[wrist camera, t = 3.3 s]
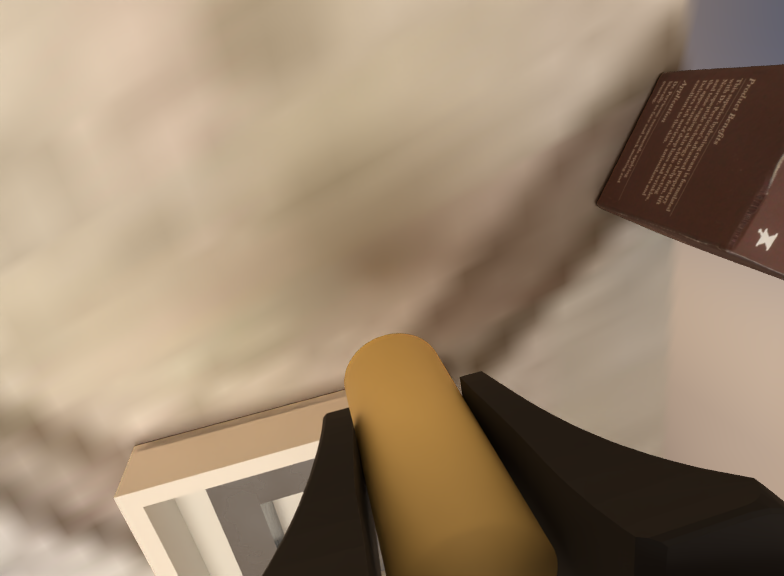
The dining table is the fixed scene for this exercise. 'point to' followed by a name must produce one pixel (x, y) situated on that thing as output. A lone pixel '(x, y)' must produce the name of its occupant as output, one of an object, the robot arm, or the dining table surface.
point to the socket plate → (258, 513)
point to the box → (709, 164)
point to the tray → (212, 483)
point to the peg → (435, 471)
